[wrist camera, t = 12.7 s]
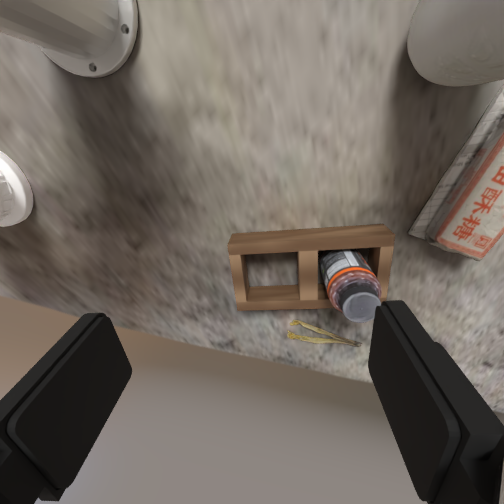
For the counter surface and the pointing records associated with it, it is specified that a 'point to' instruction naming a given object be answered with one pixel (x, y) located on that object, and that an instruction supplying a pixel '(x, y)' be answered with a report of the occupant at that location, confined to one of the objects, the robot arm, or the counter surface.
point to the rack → (305, 263)
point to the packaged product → (470, 192)
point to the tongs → (320, 340)
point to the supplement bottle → (350, 284)
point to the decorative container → (13, 193)
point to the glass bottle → (458, 41)
